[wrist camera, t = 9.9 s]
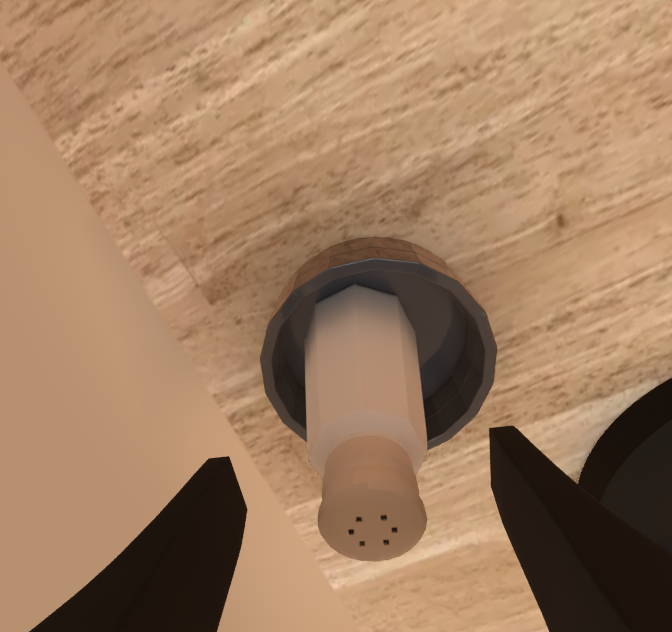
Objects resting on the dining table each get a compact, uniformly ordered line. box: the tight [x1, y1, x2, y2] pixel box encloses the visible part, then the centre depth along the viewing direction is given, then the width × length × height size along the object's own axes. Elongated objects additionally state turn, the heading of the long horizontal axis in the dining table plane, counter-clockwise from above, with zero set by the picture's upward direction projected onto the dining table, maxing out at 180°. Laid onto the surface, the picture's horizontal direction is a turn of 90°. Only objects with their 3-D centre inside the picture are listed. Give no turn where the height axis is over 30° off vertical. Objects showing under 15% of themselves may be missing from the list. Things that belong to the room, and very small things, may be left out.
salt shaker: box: [304, 284, 427, 561], centre depth 16 cm, size 5×5×11 cm
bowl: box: [260, 237, 497, 450], centre depth 20 cm, size 10×10×4 cm
